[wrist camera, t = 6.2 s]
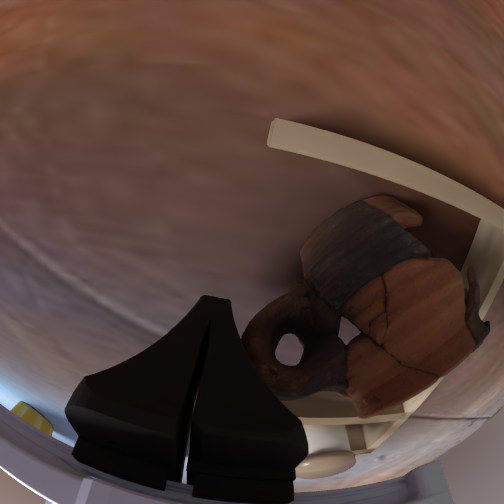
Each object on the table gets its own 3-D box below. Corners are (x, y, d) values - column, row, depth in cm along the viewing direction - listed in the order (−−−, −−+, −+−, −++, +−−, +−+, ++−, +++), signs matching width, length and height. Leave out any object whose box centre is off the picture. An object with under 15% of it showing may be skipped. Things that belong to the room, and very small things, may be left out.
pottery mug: (432, 171, 12) (532, 291, 7) (382, 276, 19) (436, 368, 14) (198, 219, 9) (285, 474, 4) (225, 330, 17) (269, 455, 12)
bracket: (364, 428, 21) (370, 452, 18) (210, 421, 20) (206, 450, 17) (493, 206, 12) (525, 223, 9) (271, 122, 11) (275, 118, 8)
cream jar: (329, 422, 20) (339, 476, 15) (281, 421, 20) (284, 479, 14) (351, 394, 18) (367, 454, 13) (298, 393, 18) (305, 459, 13)
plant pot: (53, 437, 28) (35, 478, 19) (6, 397, 25) (-17, 437, 16) (73, 434, 25) (52, 486, 16) (16, 387, 22) (-13, 437, 13)
